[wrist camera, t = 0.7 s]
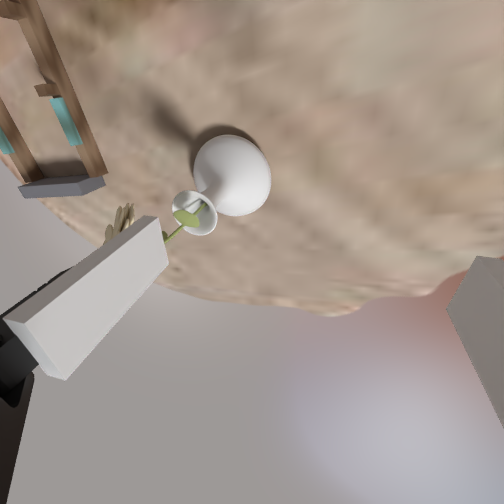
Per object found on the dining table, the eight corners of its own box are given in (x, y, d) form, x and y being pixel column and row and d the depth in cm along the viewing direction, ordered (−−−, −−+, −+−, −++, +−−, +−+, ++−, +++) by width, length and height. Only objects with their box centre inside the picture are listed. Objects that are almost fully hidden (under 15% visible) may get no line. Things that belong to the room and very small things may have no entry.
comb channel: (-103, -72, 32) (-158, -91, 28) (-15, -124, 27) (-68, -155, 24) (37, 178, 48) (14, 186, 44) (108, 172, 43) (88, 181, 40)
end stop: (44, 178, 47) (17, 187, 43) (100, 173, 44) (77, 182, 40) (50, 188, 48) (24, 198, 44) (105, 185, 45) (83, 195, 41)
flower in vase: (253, 117, 33) (127, 173, 13) (285, 197, 38) (230, 331, 17) (176, 156, 39) (4, 239, 18) (212, 222, 43) (107, 346, 23)
